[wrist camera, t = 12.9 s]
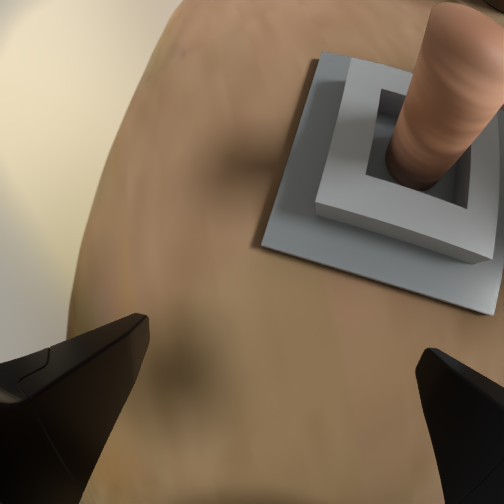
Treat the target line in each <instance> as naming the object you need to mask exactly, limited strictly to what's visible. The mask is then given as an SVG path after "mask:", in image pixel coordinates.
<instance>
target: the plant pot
mask: <svg viewBox="0 0 504 504" xmlns="http://www.w3.org/2000/svg"><path fill="white" fill-rule="evenodd" d="M485 1H486V2H487V3H488V4H490V5H491V6H493V7H494V8H496V9H498V10H499V11H501V12H503V13H504V0H485Z"/></svg>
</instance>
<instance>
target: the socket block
mask: <svg viewBox="0 0 504 504" xmlns="http://www.w3.org/2000/svg"><path fill="white" fill-rule="evenodd" d="M412 76H413V73H411V72H407V71H404V70H401V69H397V68H394V67H390V66H387V65H383V64H379V63H375V62H371V61H367V60H363V59H358V58H354V57H349V56H344V55H339V54H333V53H328V52H321V55H320V59H319V62H318V65H317V68H316V72H315V75H314V78H313V81H312V85H311V88H310V91H309V94H308V97H307V101H306V104H305V107H304V110H303V113H302V117H301V120H300V123H299V126H298V129H297V133H296V136H295V139H294V142H293V145H292V149H291V152H290V155H289V158H288V161H287V164H286V168H285V171H284V174H283V177H282V180H281V183H280V187H279V190H278V193H277V196H276V199H275V202H274V206H273V209H272V212H271V215H270V218H269V221H268V224H267V228H266V231H265V234H264V237H263V240H262V243H261V245H262V246H263V247H264V248H268V249H271V250H275V251H278V252H281V253H285V254H288V255H291V256H295V257H298V258H301V259H305V260H308V261H312V262H315V263H318V264H322V265H325V266H328V267H332V268H335V269H338V270H342V271H345V272H348V273H351V274H355V275H358V276H361V277H365V278H368V279H371V280H375V281H378V282H381V283H384V284H388V285H391V286H394V287H398V288H401V289H404V290H407V291H411V292H414V293H417V294H420V295H424V296H427V297H430V298H433V299H437V300H440V301H443V302H446V303H450V304H453V305H456V306H459V307H462V308H466V309H469V310H472V311H475V312H478V313H482V314H485V315H490V316H494V312H495V307H496V303H497V299H498V294H499V289H500V284H501V279H502V273H503V267H504V110H502V109H499V110H498V112H497V113H496V114H495V115H494V117H493V118H492V119H491V120H490V122H489V123H488V124H487V125H486V127H485V128H484V129H483V130H482V132H481V133H480V134H479V135H478V136H477V138H476V139H475V140H474V141H473V142H472V144H471V145H470V146H469V147H468V148H467V150H466V151H465V152H464V153H463V154H462V155H461V157H460V158H459V159H458V160H457V161H456V162H455V163H454V165H453V166H452V167H451V168H450V169H449V170H448V171H447V172H446V174H445V175H444V176H443V177H442V178H441V179H440V180H439V181H438V182H437V183H436V185H435V186H433V187H432V188H430V189H429V190H426V191H416V190H413V189H410V188H407V187H404V186H401V185H400V184H398V183H397V182H396V181H395V180H394V179H393V177H392V176H391V175H390V173H389V171H388V169H387V166H386V162H385V154H386V150H387V147H388V144H389V142H390V139H391V136H392V134H393V131H394V128H395V126H396V123H397V120H398V117H399V114H400V112H401V109H402V106H403V103H404V100H405V97H406V94H407V91H408V88H409V85H410V82H411V79H412Z"/></svg>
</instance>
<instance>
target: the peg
mask: <svg viewBox="0 0 504 504" xmlns="http://www.w3.org/2000/svg"><path fill="white" fill-rule="evenodd" d="M503 104H504V28H503V27H501V26H500V25H499V24H498V23H496V22H495V21H494V20H492V19H491V18H489V17H488V16H486V15H485V14H483V13H481V12H479V11H477V10H475V9H473V8H471V7H468V6H465V5H461V4H457V3H450V2H444V3H439V4H437V5H435V6H434V7H433V8H432V9H431V12H430V16H429V20H428V24H427V27H426V31H425V35H424V39H423V42H422V46H421V49H420V53H419V56H418V59H417V63H416V66H415V69H414V72H413V76H412V79H411V82H410V85H409V88H408V91H407V94H406V97H405V100H404V103H403V106H402V109H401V112H400V114H399V117H398V120H397V123H396V126H395V128H394V131H393V134H392V136H391V139H390V142H389V144H388V147H387V150H386V154H385V162H386V166H387V169H388V171H389V173H390V175H391V176H392V177H393V179H394V180H395V181H396V182H397V183H398V184H400V185H401V186H404V187H407V188H410V189H413V190H416V191H426V190H429V189H430V188H432V187H433V186H435V185H436V183H437V182H438V181H439V180H440V179H441V178H442V177H443V176H444V175H445V174H446V172H447V171H448V170H449V169H450V168H451V167H452V166H453V165H454V163H455V162H456V161H457V160H458V159H459V158H460V157H461V155H462V154H463V153H464V152H465V151H466V150H467V148H468V147H469V146H470V145H471V144H472V142H473V141H474V140H475V139H476V138H477V136H478V135H479V134H480V133H481V132H482V130H483V129H484V128H485V127H486V125H487V124H488V123H489V122H490V120H491V119H492V118H493V117H494V115H495V114H496V113H497V112H498V110H499V109H500V108H501V106H502V105H503Z"/></svg>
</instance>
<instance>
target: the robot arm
mask: <svg viewBox="0 0 504 504" xmlns="http://www.w3.org/2000/svg"><path fill="white" fill-rule="evenodd" d="M149 340H150V334H149V318H148V316H147V315H144V314H139V313H134V314H131V315H129V316H126V317H124V318H121V319H119V320H116V321H114V322H111V323H109V324H106V325H104V326H101V327H99V328H96V329H94V330H91V331H89V332H86V333H84V334H81V335H79V336H76V337H74V338H71V339H69V340H66V341H63V342H61V343H58V344H56V345H53V346H51V347H50V348H45V349H43V350H41V351H38V352H35V353H32V354H30V355H27V356H24V357H21V358H17V359H14V360H11V361H8V362H4V363H0V504H79V502H80V500H81V497H82V495H83V492H84V490H85V488H86V485H87V483H88V481H89V479H90V476H91V474H92V472H93V470H94V468H95V465H96V463H97V461H98V459H99V457H100V454H101V452H102V450H103V448H104V446H105V444H106V442H107V439H108V437H109V435H110V433H111V431H112V429H113V427H114V425H115V423H116V421H117V418H118V416H119V414H120V412H121V410H122V408H123V406H124V404H125V402H126V400H127V398H128V396H129V394H130V392H131V390H132V388H133V386H134V384H135V381H136V379H137V376H138V373H139V370H140V367H141V364H142V362H143V359H144V356H145V353H146V351H147V348H148V345H149ZM415 374H416V379H417V384H418V389H419V394H420V399H421V404H422V409H423V413H424V416H425V420H426V423H427V427H428V430H429V434H430V438H431V442H432V445H433V449H434V453H435V457H436V462H437V466H438V470H439V475H440V479H441V484H442V489H443V494H444V500H445V504H504V387H502V386H500V385H499V384H497V383H495V382H493V381H492V380H490V379H488V378H487V377H485V376H483V375H482V374H480V373H478V372H476V371H475V370H473V369H471V368H470V367H468V366H466V365H465V364H463V363H461V362H459V361H458V360H456V359H454V358H453V357H451V356H449V355H447V354H446V353H444V352H442V351H441V350H439V349H437V348H427V349H425V350H424V352H423V354H422V356H421V358H420V360H419V362H418V364H417V367H416V370H415Z"/></svg>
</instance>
